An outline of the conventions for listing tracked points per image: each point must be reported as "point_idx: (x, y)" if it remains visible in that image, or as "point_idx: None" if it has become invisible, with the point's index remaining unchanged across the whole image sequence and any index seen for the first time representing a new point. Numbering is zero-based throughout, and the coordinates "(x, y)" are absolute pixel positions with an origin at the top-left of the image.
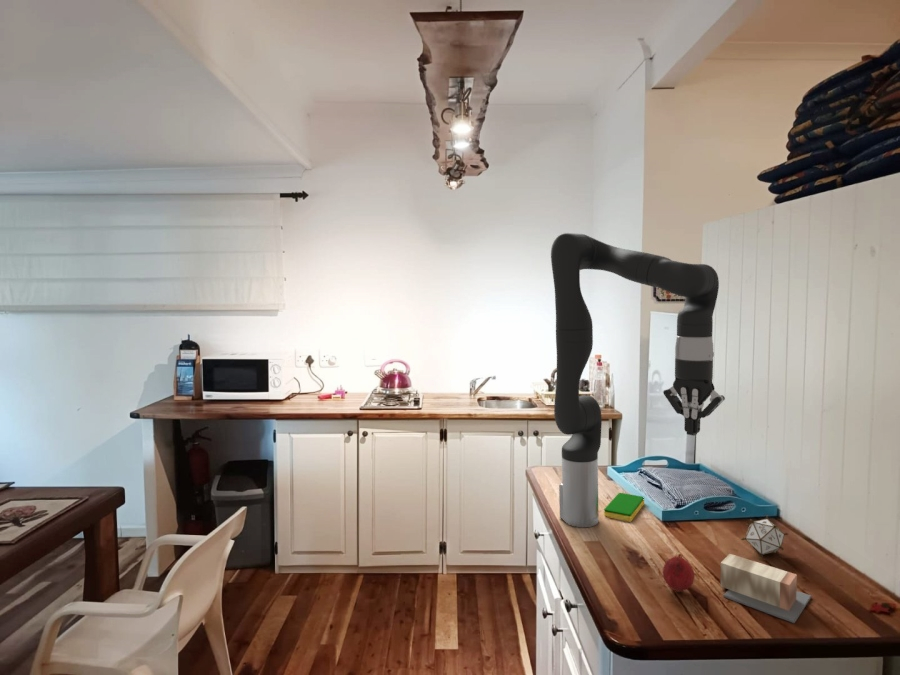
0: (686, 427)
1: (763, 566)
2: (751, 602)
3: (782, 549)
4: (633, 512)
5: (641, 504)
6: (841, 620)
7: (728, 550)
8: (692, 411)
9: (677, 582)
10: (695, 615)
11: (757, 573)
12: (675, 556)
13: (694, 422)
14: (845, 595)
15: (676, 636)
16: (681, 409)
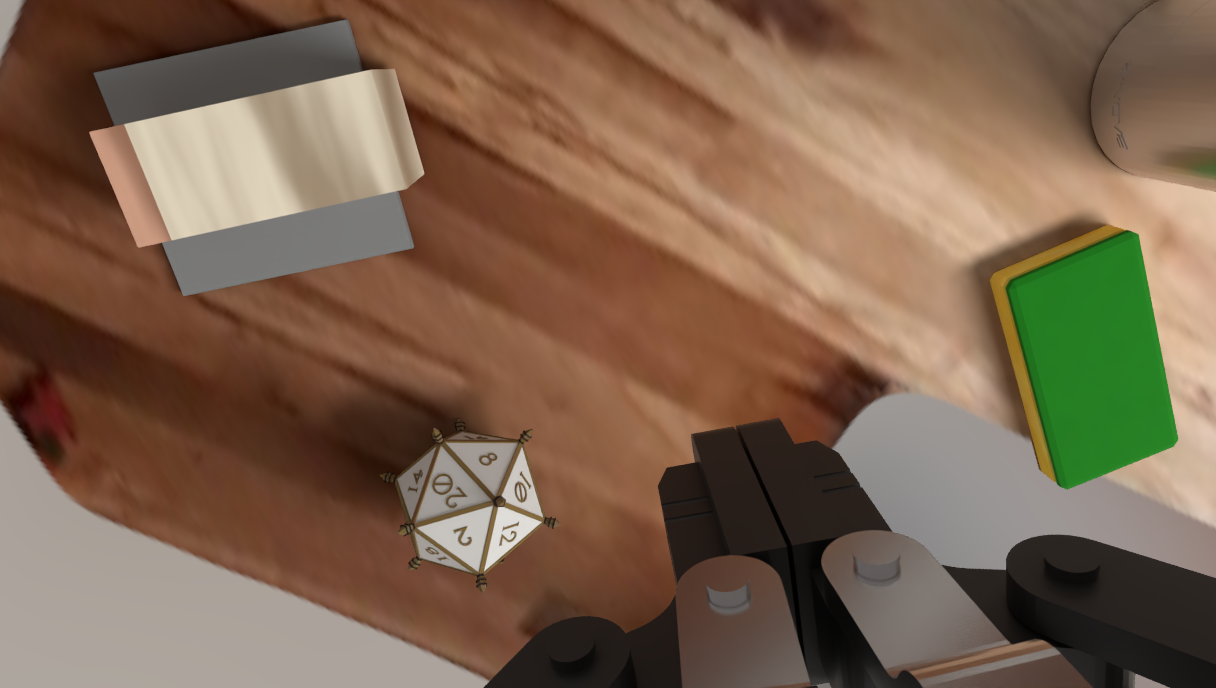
0: (817, 471)
1: (252, 200)
2: (253, 59)
3: (384, 473)
4: (1017, 331)
5: (1039, 438)
6: (45, 235)
7: (569, 379)
8: (786, 649)
9: None
10: None
11: (220, 114)
12: None
13: (721, 549)
14: (146, 405)
15: None
16: (1043, 633)
